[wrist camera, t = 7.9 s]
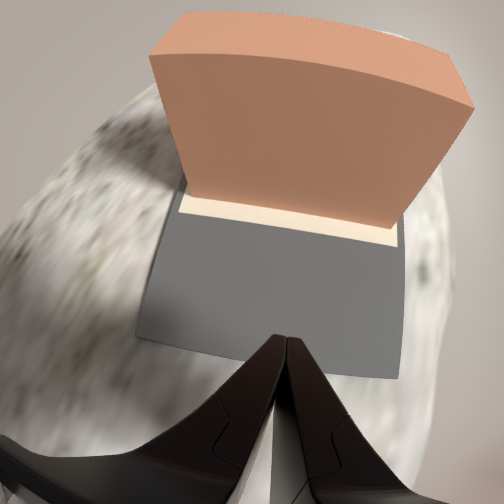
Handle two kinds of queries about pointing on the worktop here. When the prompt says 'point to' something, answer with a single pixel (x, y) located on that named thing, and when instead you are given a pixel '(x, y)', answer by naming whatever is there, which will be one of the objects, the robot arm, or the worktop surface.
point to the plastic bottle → (2, 495)
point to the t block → (307, 113)
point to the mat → (277, 285)
